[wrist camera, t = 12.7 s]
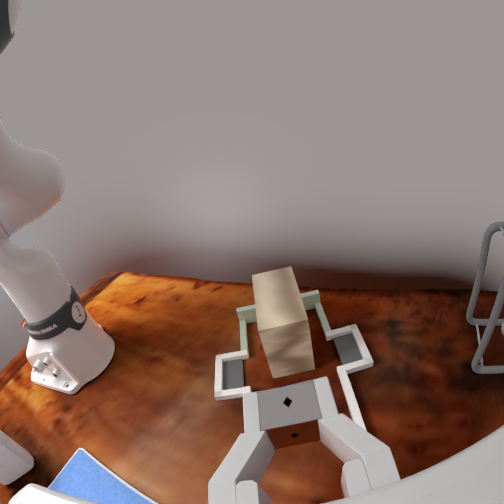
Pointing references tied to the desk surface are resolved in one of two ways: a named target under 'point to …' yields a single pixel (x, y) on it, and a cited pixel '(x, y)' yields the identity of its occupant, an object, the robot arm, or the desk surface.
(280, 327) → the maple block
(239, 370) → the box
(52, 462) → the desk surface
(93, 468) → the tablet computer
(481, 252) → the newton's cradle
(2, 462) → the photo printer
